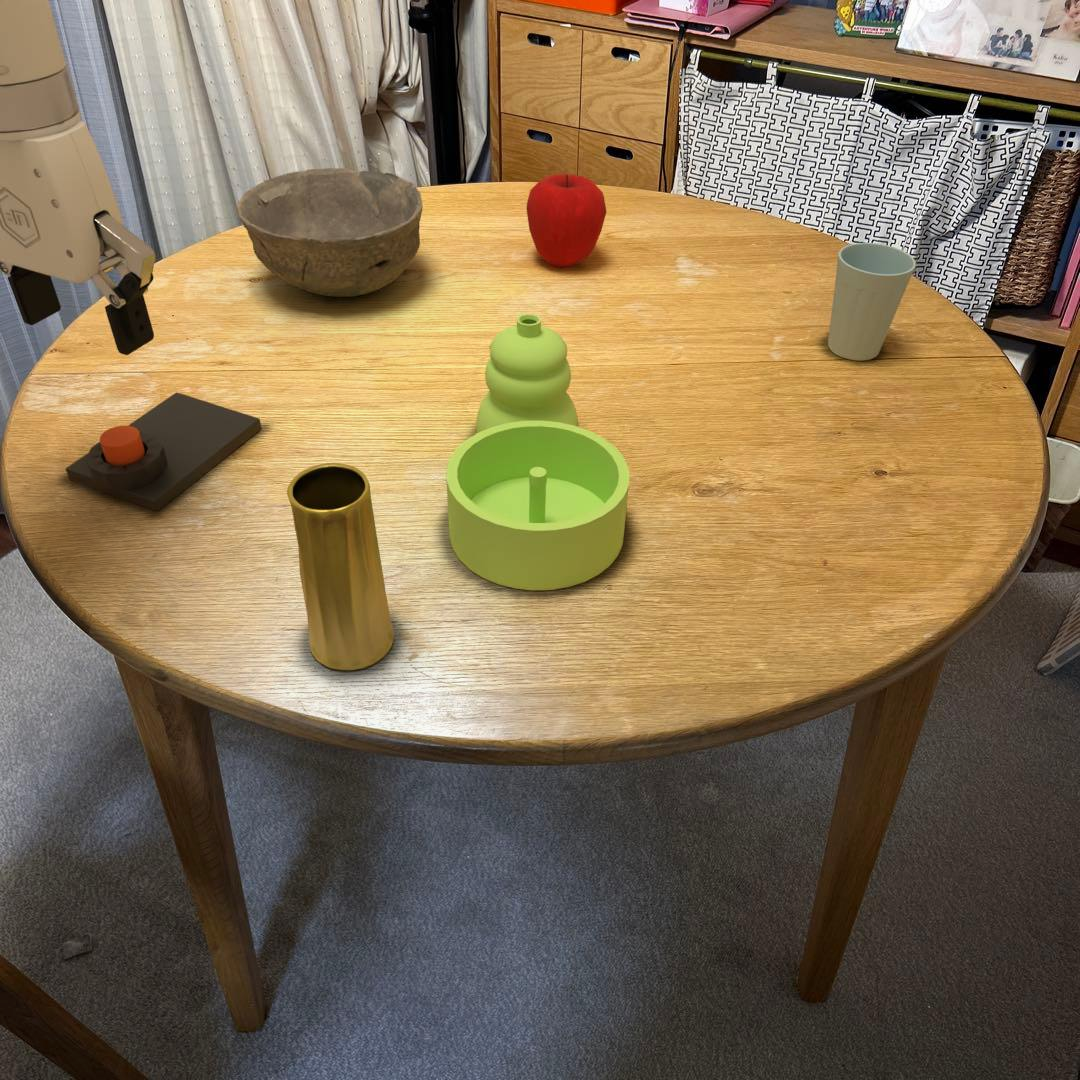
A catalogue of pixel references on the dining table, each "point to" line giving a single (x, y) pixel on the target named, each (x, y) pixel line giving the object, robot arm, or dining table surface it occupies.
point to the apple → (565, 218)
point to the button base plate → (168, 451)
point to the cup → (866, 297)
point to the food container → (534, 474)
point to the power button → (122, 445)
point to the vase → (340, 566)
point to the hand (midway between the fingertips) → (89, 331)
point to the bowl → (334, 228)
